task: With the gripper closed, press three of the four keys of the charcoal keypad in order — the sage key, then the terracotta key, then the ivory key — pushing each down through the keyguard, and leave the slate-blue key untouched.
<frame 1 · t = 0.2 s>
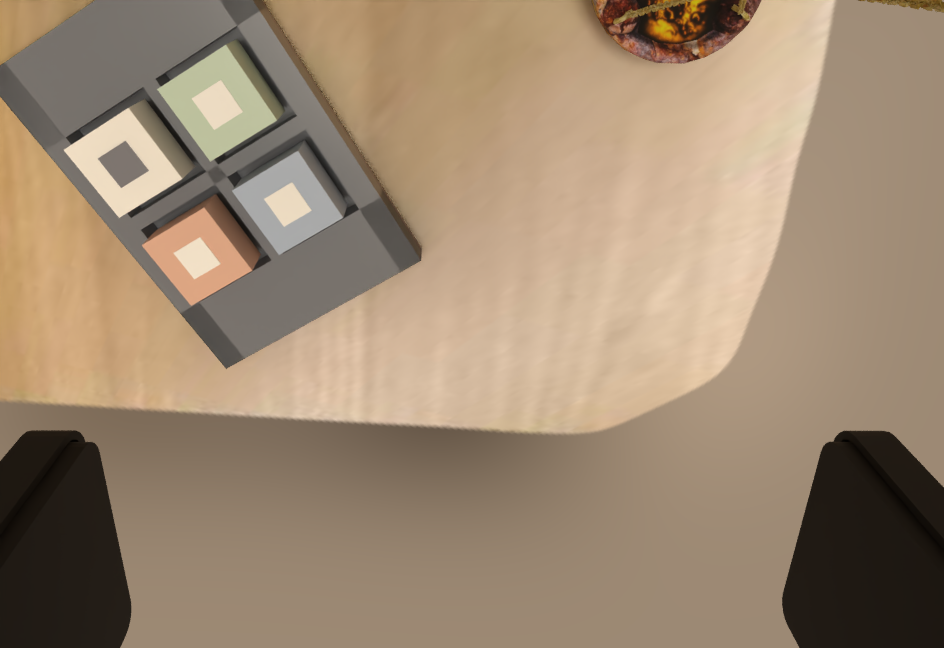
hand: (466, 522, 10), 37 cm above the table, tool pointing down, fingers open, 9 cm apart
key terracotta: (203, 250, 44), point 3 cm above the table, slide at 0.0 cm
keypad frame: (225, 165, 45), on the table
key slate: (291, 197, 43), point 3 cm above the table, slide at 0.0 cm
key sage: (223, 100, 40), point 3 cm above the table, slide at 0.0 cm
key ivory: (131, 158, 41), point 3 cm above the table, slide at 0.0 cm
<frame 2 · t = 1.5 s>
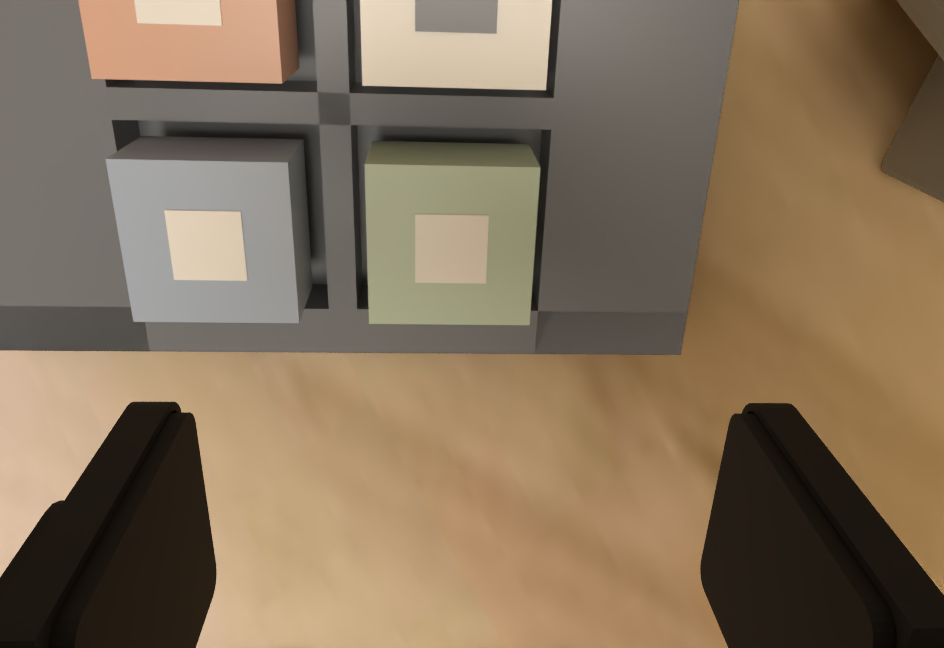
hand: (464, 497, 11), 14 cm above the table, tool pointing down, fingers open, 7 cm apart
keypad frame: (342, 95, 22), on the table
key slate: (219, 229, 20), point 3 cm above the table, slide at 0.0 cm
key sage: (450, 232, 21), point 3 cm above the table, slide at 0.0 cm
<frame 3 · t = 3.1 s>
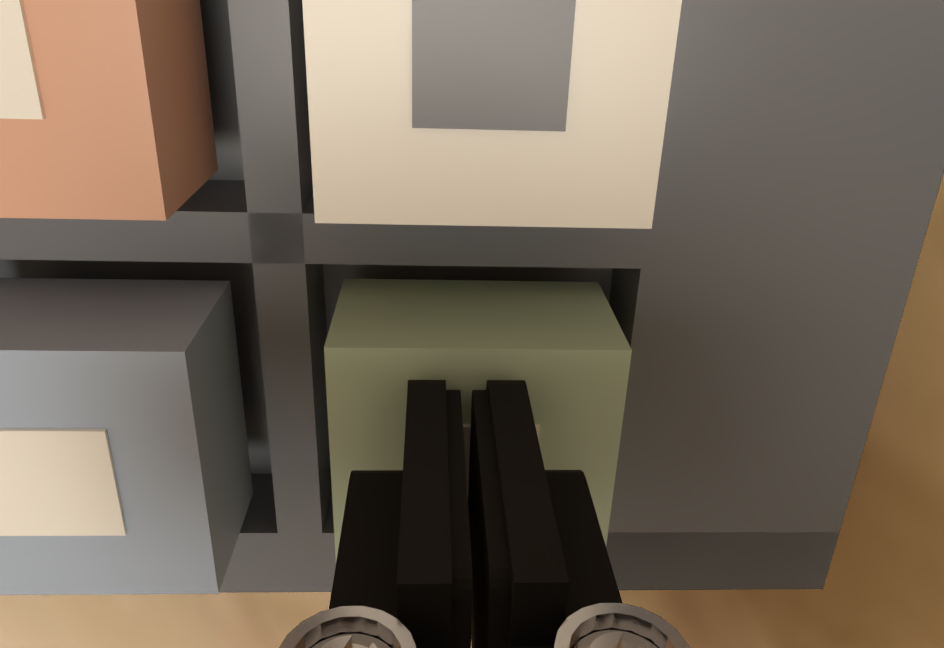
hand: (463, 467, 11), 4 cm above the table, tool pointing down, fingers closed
key terracotta: (0, 24, 10), point 3 cm above the table, slide at 0.0 cm
keypad frame: (298, 201, 14), on the table
key slate: (87, 434, 12), point 3 cm above the table, slide at 0.0 cm
key sage: (471, 430, 13), point 3 cm above the table, slide at 0.2 cm, touching gripper
key ivory: (485, 38, 10), point 3 cm above the table, slide at 0.0 cm
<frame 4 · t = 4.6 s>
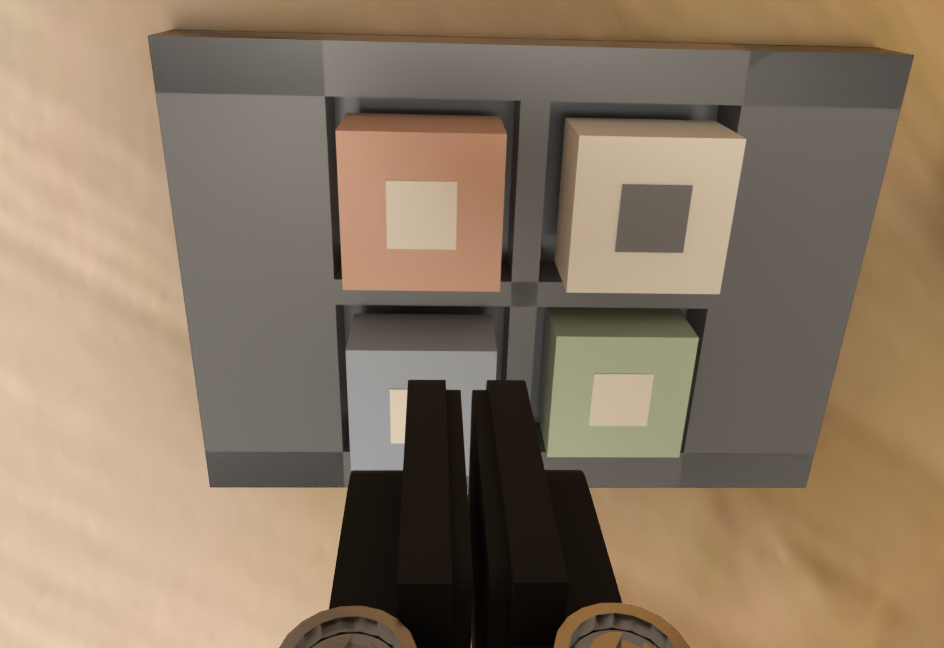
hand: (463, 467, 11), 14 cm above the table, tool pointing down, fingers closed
key terracotta: (422, 201, 21), point 3 cm above the table, slide at 0.0 cm
keypad frame: (518, 270, 25), on the table
key slate: (422, 394, 24), point 3 cm above the table, slide at 0.0 cm
key sage: (612, 380, 25), point 2 cm above the table, slide at 1.0 cm
key ivory: (642, 205, 21), point 3 cm above the table, slide at 0.0 cm
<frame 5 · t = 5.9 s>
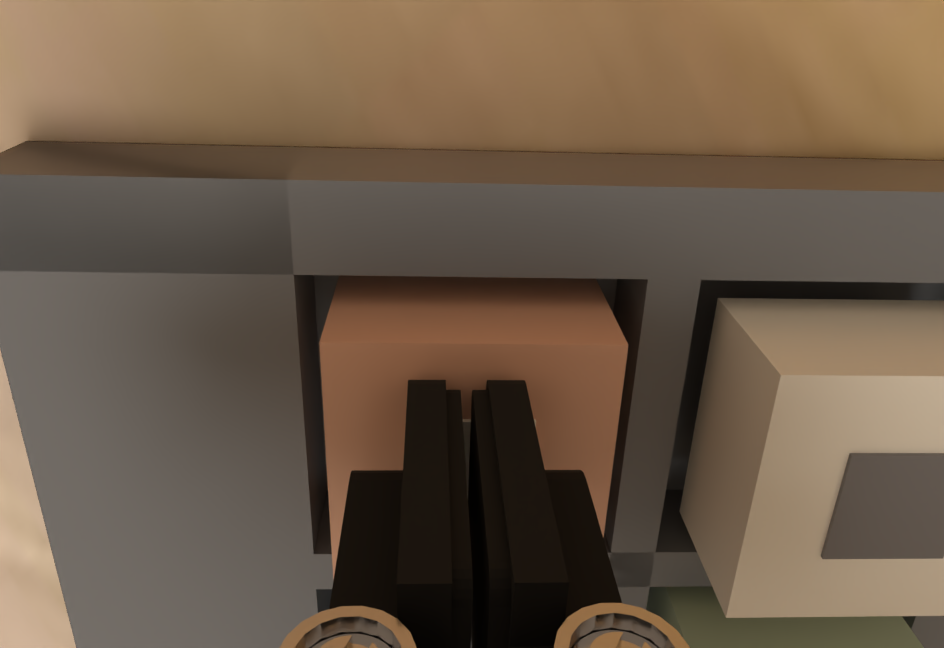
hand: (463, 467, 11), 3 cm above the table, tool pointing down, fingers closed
key terracotta: (467, 426, 13), point 2 cm above the table, slide at 0.8 cm, touching gripper
keypad frame: (608, 499, 16), on the table
key ivory: (855, 456, 12), point 3 cm above the table, slide at 0.0 cm
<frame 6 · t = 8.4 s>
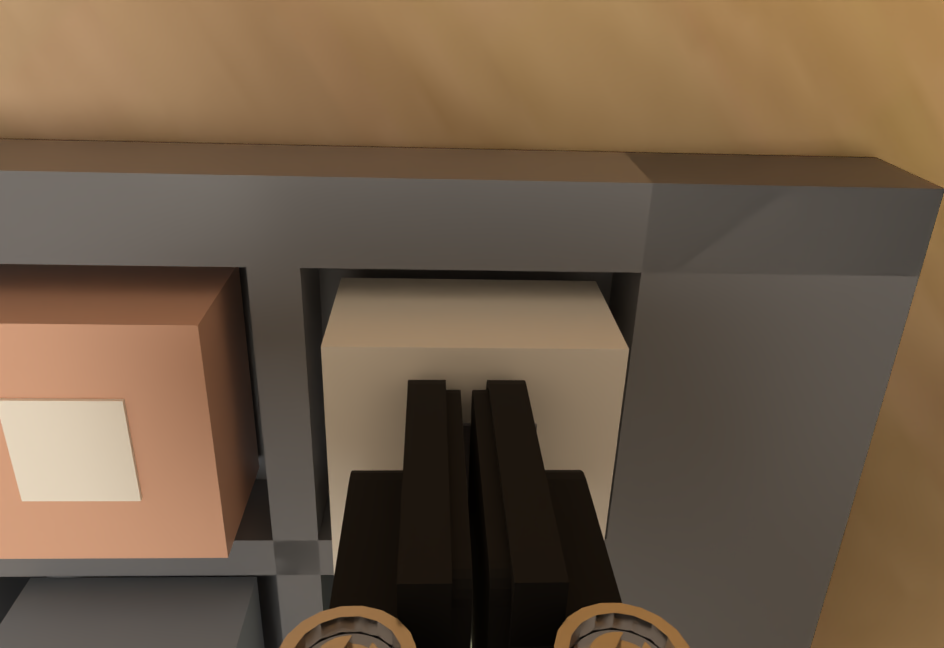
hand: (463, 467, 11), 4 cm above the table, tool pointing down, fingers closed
key terracotta: (103, 407, 13), point 2 cm above the table, slide at 1.0 cm
keypad frame: (312, 489, 16), on the table
key ivory: (468, 429, 13), point 2 cm above the table, slide at 0.4 cm, touching gripper
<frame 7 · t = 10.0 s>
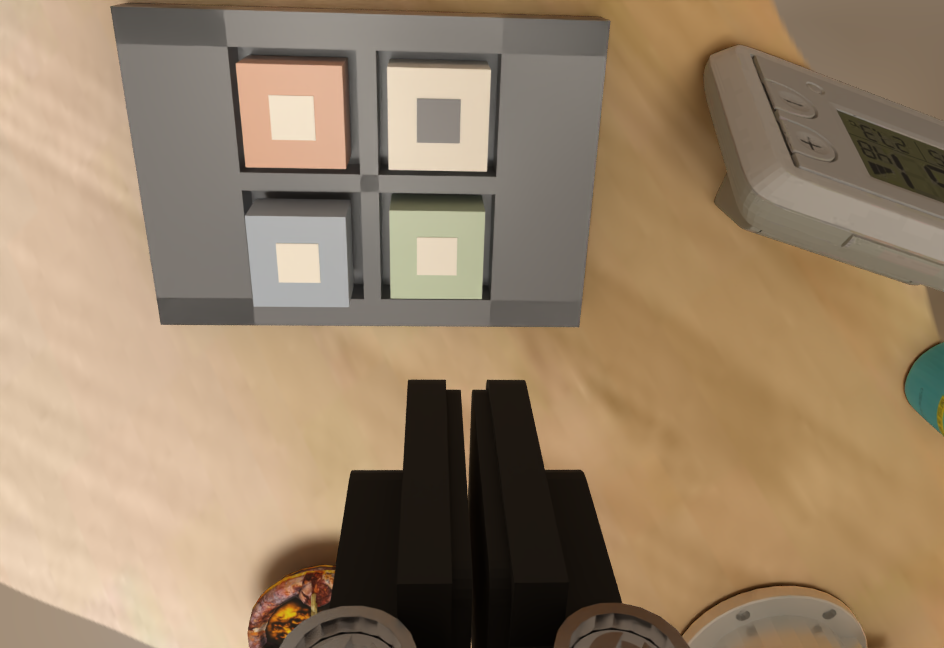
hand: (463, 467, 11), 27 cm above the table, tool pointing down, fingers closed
bird feeder: (333, 588, 48), on the table
key terracotta: (297, 112, 33), point 2 cm above the table, slide at 1.0 cm
keypad frame: (372, 171, 36), on the table
key slate: (302, 252, 35), point 3 cm above the table, slide at 0.0 cm
digital clock: (831, 148, 37), on the table
key sage: (436, 246, 36), point 2 cm above the table, slide at 1.0 cm
tube: (942, 376, 43), on the table
key ivory: (438, 115, 34), point 2 cm above the table, slide at 1.0 cm
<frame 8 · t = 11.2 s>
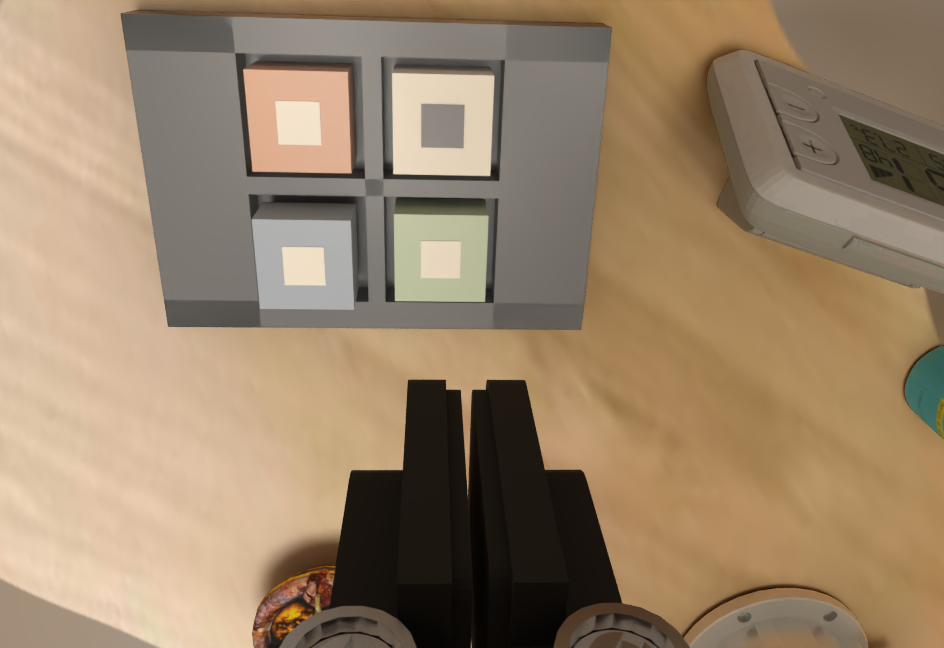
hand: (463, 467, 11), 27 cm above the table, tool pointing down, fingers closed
bird feeder: (337, 589, 48), on the table
key terracotta: (303, 117, 34), point 2 cm above the table, slide at 1.0 cm
keypad frame: (377, 176, 37), on the table
key slate: (308, 256, 35), point 3 cm above the table, slide at 0.0 cm
digital clock: (832, 152, 38), on the table
key sage: (440, 250, 37), point 2 cm above the table, slide at 1.0 cm
tube: (942, 379, 44), on the table
key ivory: (442, 120, 34), point 2 cm above the table, slide at 1.0 cm
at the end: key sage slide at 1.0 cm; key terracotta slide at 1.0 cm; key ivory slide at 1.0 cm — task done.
